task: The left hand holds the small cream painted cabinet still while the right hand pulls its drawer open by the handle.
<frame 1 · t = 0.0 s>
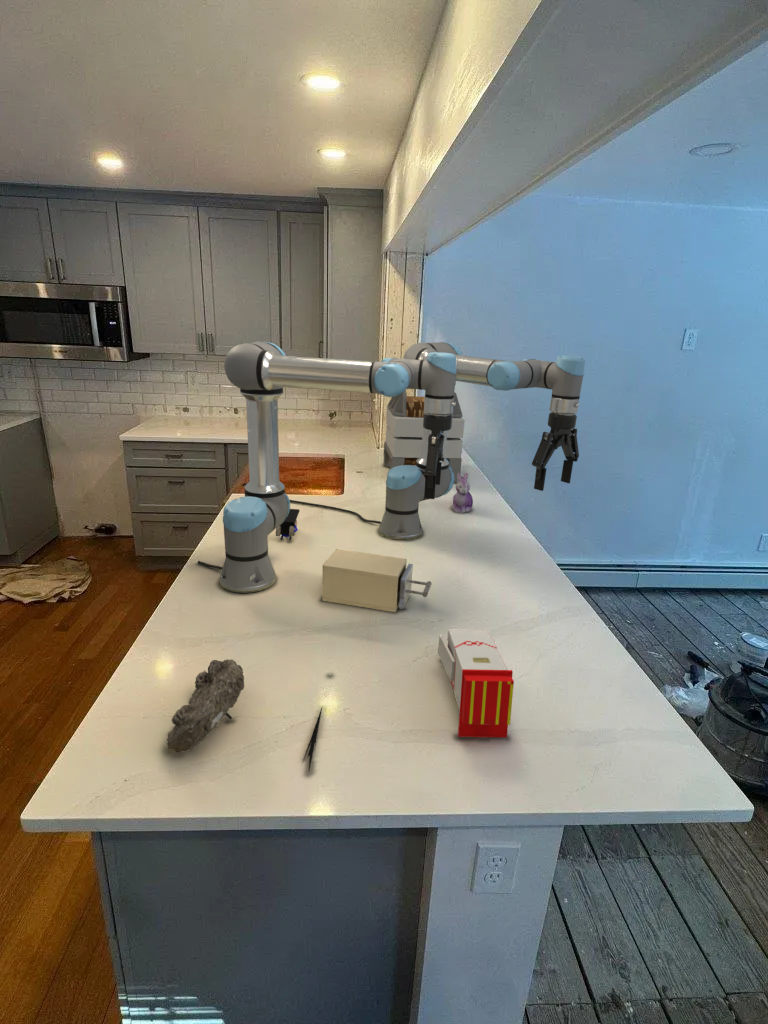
left hand: (432, 491, 156), 28 cm above the counter, tool pointing down, fingers open, 13 cm apart
right hand: (552, 485, 166), 28 cm above the counter, tool pointing down, fingers open, 13 cm apart
figurine character: (288, 535, 194), on the counter
feather: (319, 719, 109), on the counter
drawer: (384, 582, 153), point 5 cm above the counter, slide at 0.7 cm
cabinet: (364, 596, 156), on the counter
fossil: (212, 717, 108), on the counter
figurine: (462, 509, 227), on the counter
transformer: (419, 473, 275), on the counter
toy: (469, 691, 119), on the counter
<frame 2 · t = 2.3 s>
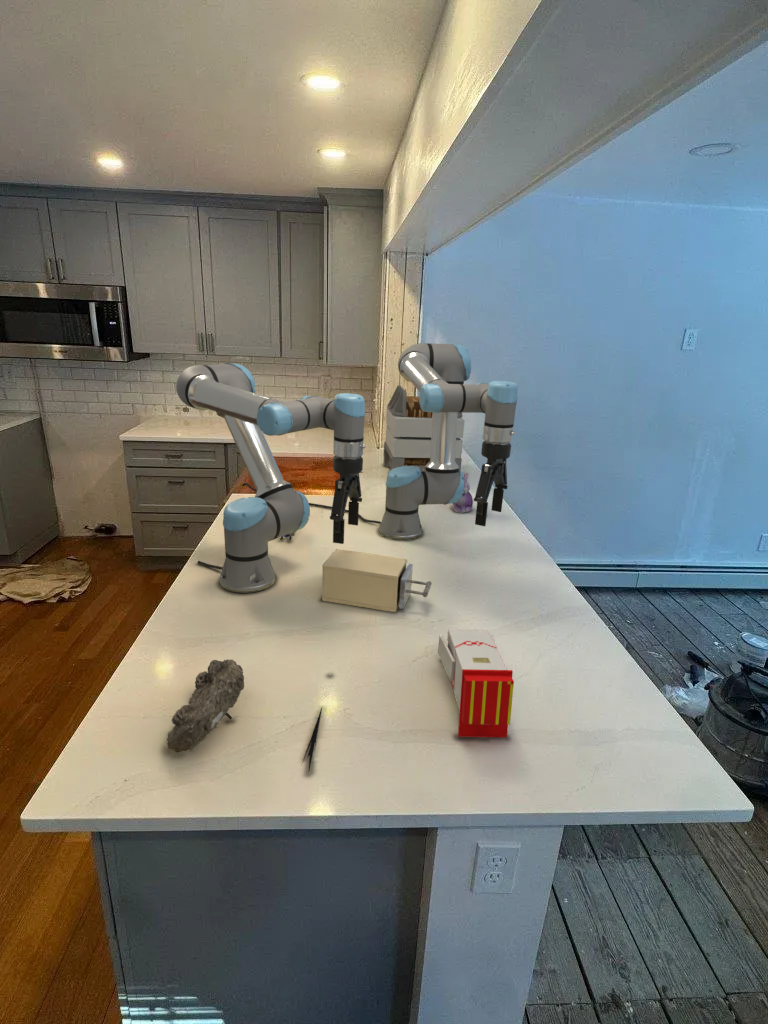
left hand: (346, 533, 151), 18 cm above the counter, tool pointing down, fingers open, 13 cm apart
right hand: (488, 517, 156), 22 cm above the counter, tool pointing down, fingers open, 13 cm apart
nothing on the counter moved.
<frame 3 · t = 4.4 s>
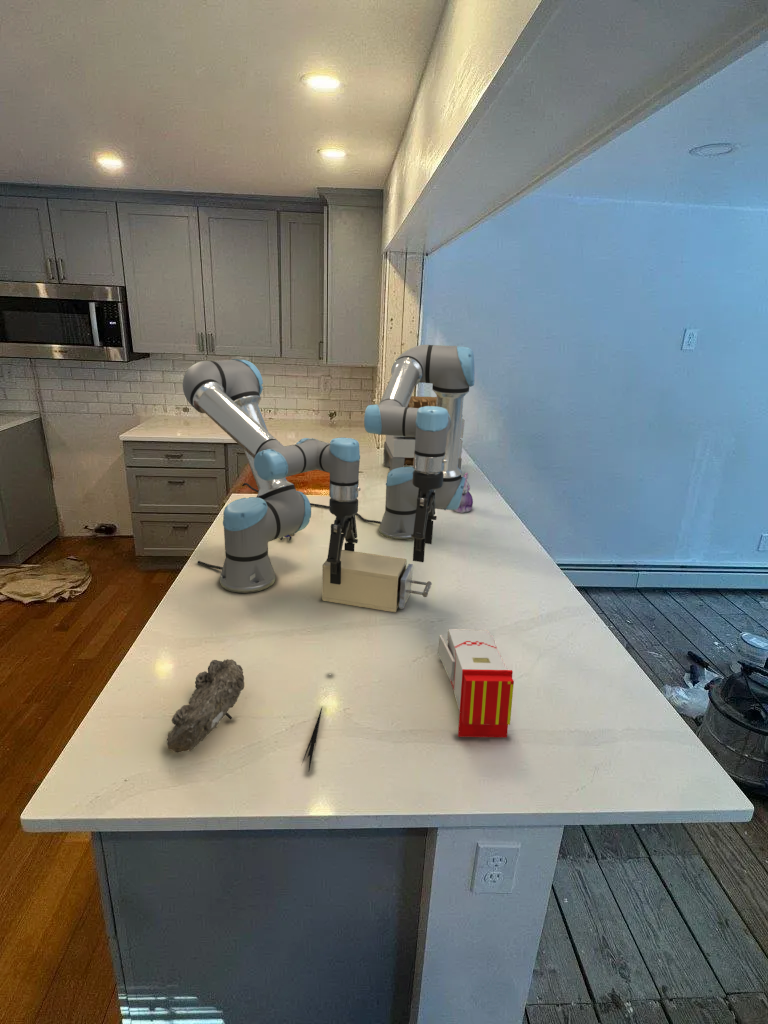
left hand: (342, 573, 155), 6 cm above the counter, tool pointing down, fingers closed on cabinet, 11 cm apart
right hand: (422, 551, 147), 16 cm above the counter, tool pointing down, fingers open, 11 cm apart
cabinet: (364, 596, 156), on the counter, touching left hand
everything else where it was.
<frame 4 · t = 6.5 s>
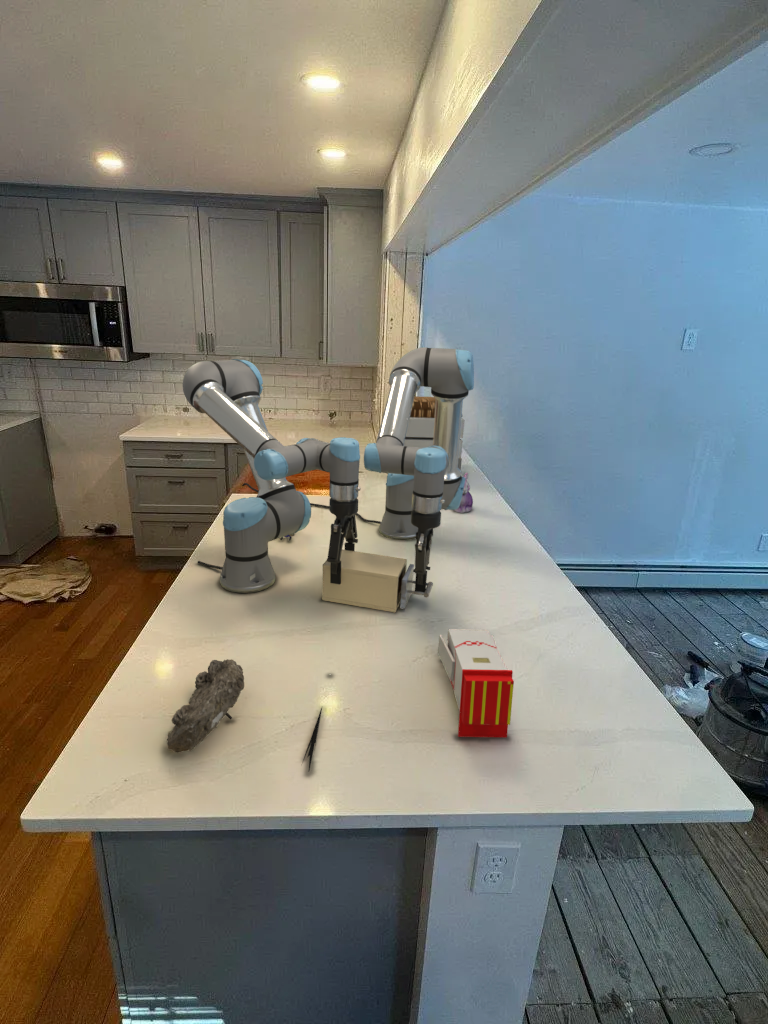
left hand: (342, 573, 155), 6 cm above the counter, tool pointing down, fingers closed on cabinet, 11 cm apart
right hand: (420, 593, 151), 4 cm above the counter, tool pointing down, fingers closed
drawer: (385, 582, 152), point 5 cm above the counter, slide at 1.0 cm, touching right hand
cabinet: (364, 596, 156), on the counter, touching left hand
everything else where it was.
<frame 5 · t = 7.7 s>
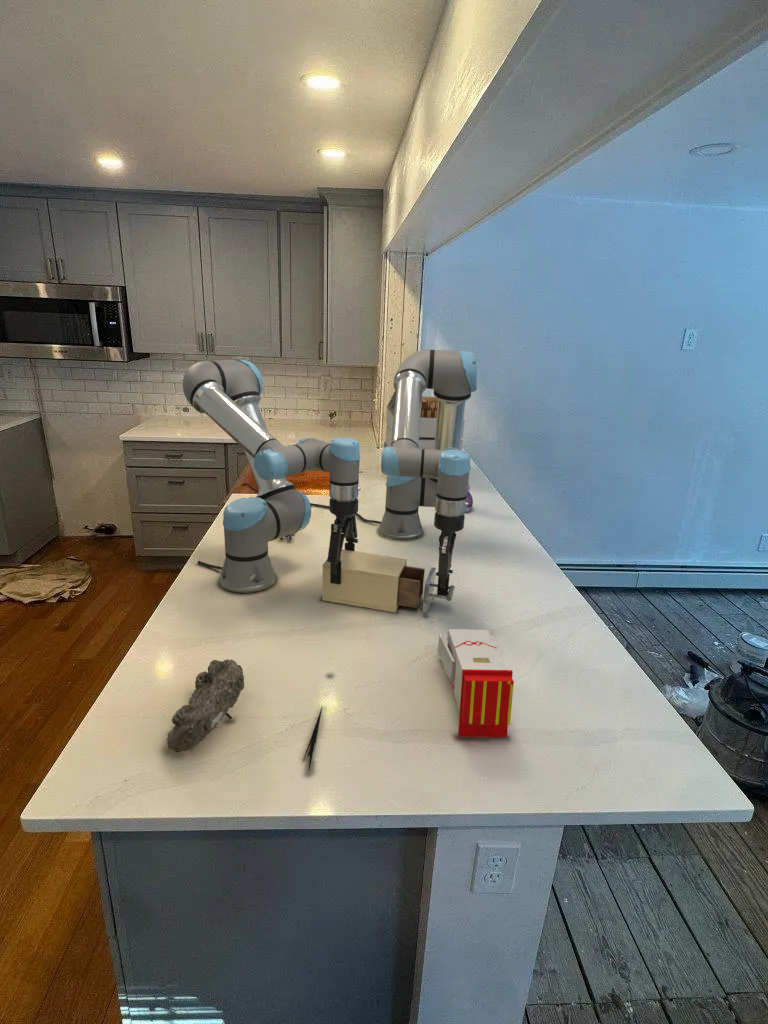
left hand: (342, 573, 155), 6 cm above the counter, tool pointing down, fingers closed on cabinet, 11 cm apart
right hand: (442, 596, 150), 4 cm above the counter, tool pointing down, fingers closed
drawer: (407, 586, 151), point 5 cm above the counter, slide at 6.9 cm, touching right hand
cabinet: (364, 596, 155), on the counter, touching left hand
everything else where it was.
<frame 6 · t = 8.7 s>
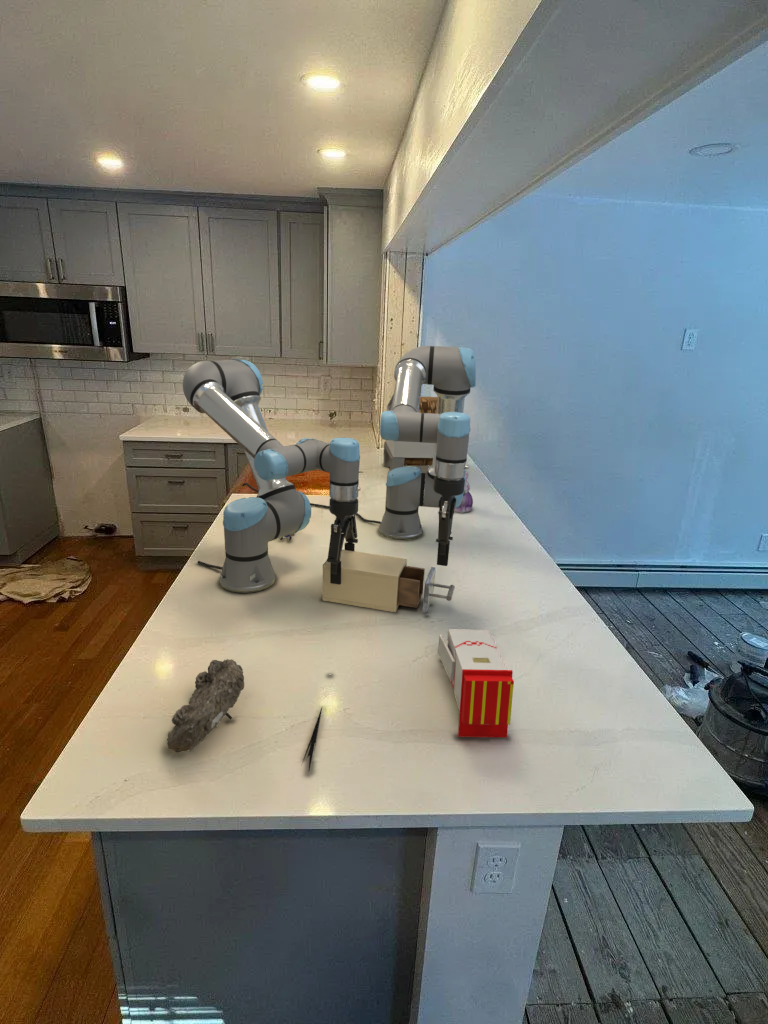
left hand: (342, 573, 155), 6 cm above the counter, tool pointing down, fingers closed on cabinet, 11 cm apart
right hand: (442, 564, 147), 13 cm above the counter, tool pointing down, fingers closed
drawer: (407, 585, 151), point 5 cm above the counter, slide at 6.9 cm
cabinet: (364, 596, 156), on the counter, touching left hand
everything else where it was.
when the left hand's fingers open (6 cm above the counter, at t = 9.5 s): cabinet stays where it is, on the counter.
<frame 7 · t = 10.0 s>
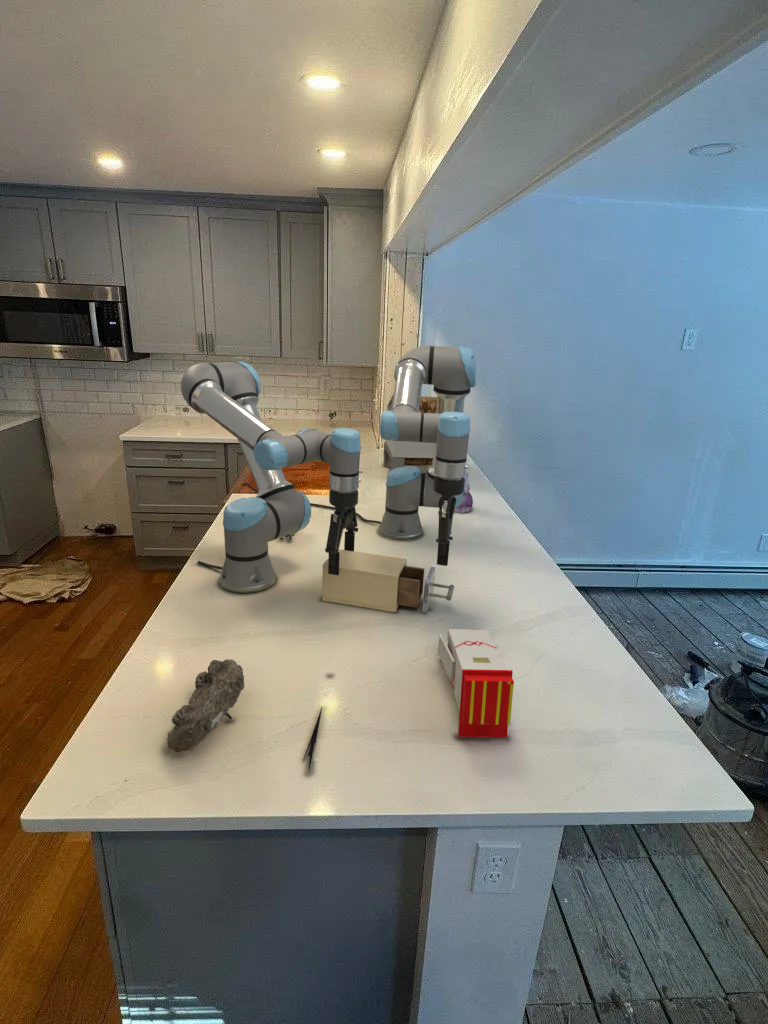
left hand: (341, 563, 154), 9 cm above the counter, tool pointing down, fingers open, 13 cm apart
right hand: (442, 564, 147), 13 cm above the counter, tool pointing down, fingers closed
cabinet: (364, 596, 156), on the counter
everything else where it was.
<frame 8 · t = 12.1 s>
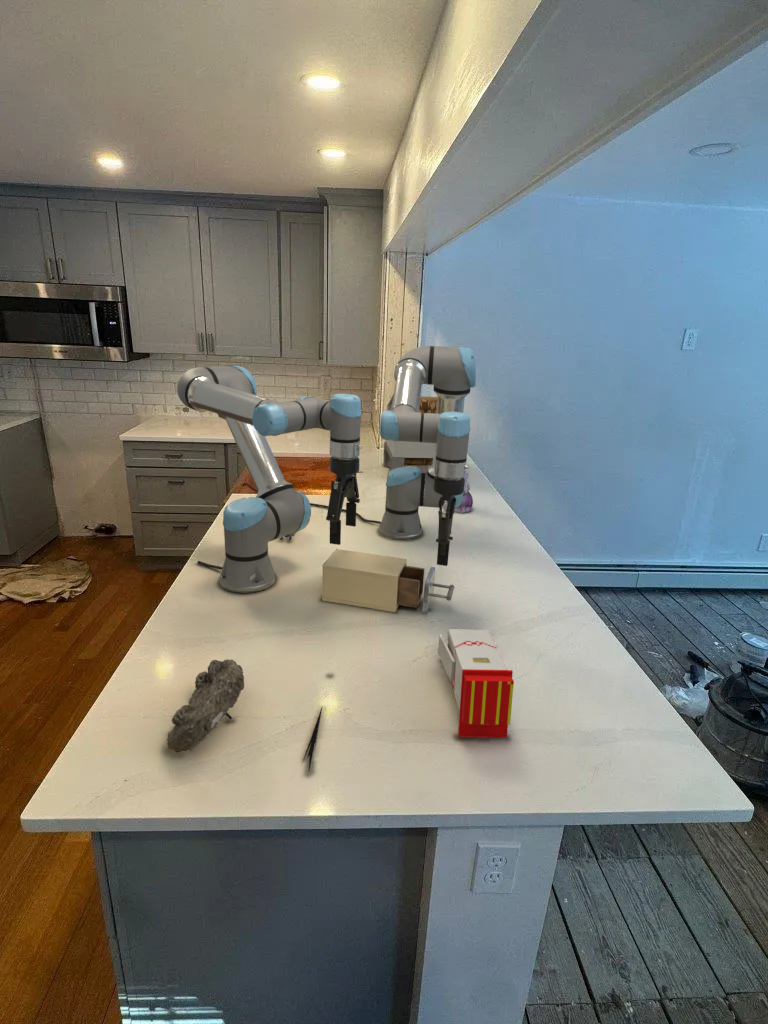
left hand: (343, 534, 151), 18 cm above the counter, tool pointing down, fingers open, 13 cm apart
right hand: (442, 564, 147), 13 cm above the counter, tool pointing down, fingers closed
nothing on the counter moved.
at the end: drawer slide at 6.9 cm; cabinet tilted 0°; cabinet never tilted more than 1° during the clip; cabinet moved 0.0 cm from its start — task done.
